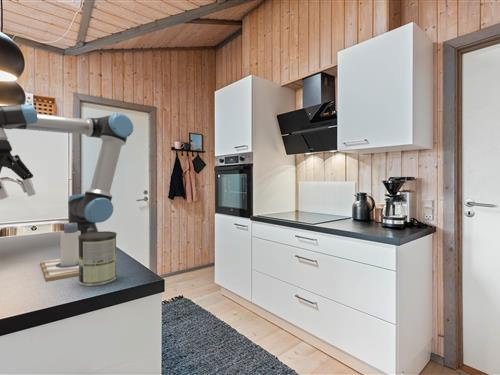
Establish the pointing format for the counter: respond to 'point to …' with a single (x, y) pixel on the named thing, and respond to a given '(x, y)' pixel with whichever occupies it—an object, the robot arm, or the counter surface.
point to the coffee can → (97, 258)
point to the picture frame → (58, 270)
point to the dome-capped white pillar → (69, 244)
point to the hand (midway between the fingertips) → (19, 196)
